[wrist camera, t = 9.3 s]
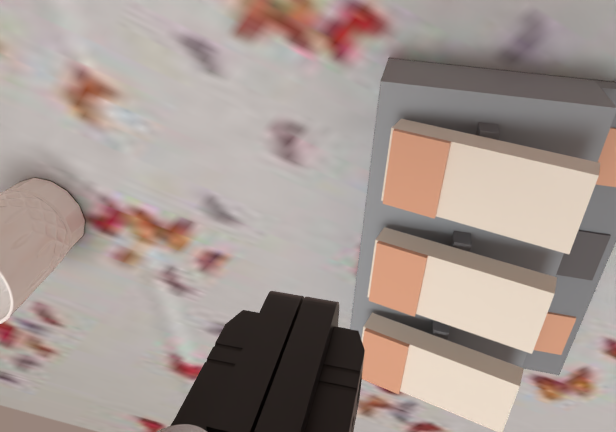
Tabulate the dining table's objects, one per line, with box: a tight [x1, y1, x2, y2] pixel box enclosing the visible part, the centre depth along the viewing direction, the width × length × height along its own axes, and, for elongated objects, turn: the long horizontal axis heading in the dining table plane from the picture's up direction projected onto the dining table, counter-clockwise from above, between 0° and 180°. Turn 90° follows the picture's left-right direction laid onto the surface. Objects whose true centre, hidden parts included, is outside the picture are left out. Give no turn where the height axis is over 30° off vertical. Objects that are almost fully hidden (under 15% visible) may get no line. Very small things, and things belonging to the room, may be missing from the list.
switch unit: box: [350, 58, 616, 375], centre depth 35 cm, size 16×22×6 cm
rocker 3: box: [362, 313, 524, 432], centre depth 35 cm, size 10×4×2 cm, turn 87°
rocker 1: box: [381, 119, 600, 254], centre depth 28 cm, size 10×4×2 cm, turn 87°
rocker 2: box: [367, 227, 557, 354], centre depth 31 cm, size 10×4×2 cm, turn 87°
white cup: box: [0, 178, 85, 324], centre depth 41 cm, size 8×8×10 cm
